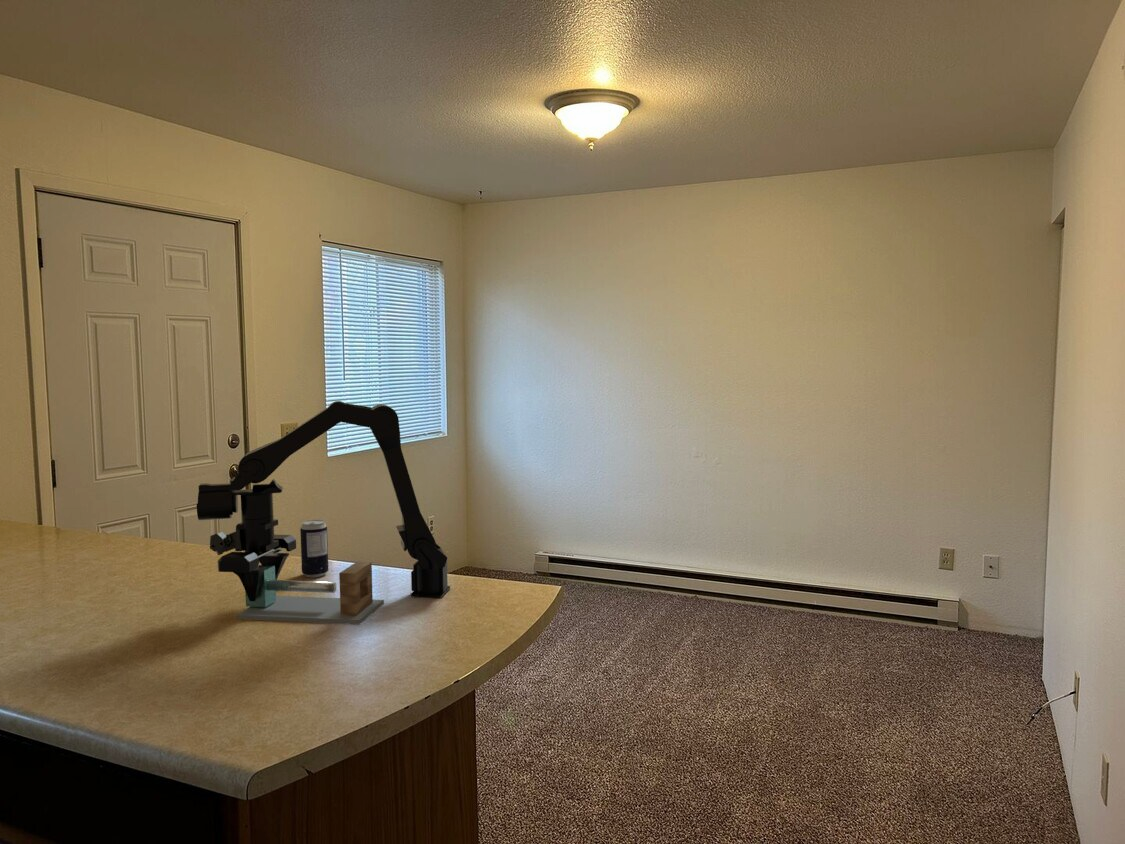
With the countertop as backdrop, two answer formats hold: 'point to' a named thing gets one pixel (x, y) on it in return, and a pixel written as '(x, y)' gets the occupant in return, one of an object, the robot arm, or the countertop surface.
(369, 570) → the square wooden collar
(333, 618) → the base board
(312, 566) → the beverage can
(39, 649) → the countertop surface
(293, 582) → the green cube on rod
